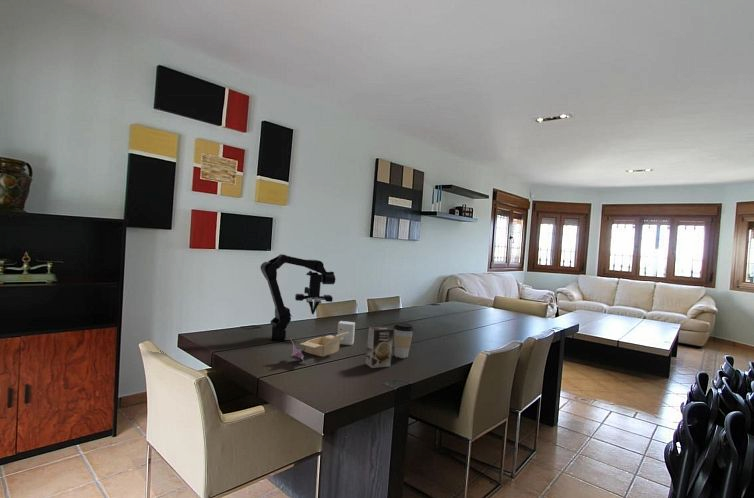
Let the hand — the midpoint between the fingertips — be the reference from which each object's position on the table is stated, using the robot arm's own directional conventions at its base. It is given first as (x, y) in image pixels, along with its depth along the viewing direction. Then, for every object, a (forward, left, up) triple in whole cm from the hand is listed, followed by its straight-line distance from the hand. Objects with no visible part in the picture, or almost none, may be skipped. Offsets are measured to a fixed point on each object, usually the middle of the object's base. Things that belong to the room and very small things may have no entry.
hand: (312, 314), depth 206 cm
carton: (+2, -25, -12) cm, 28 cm away
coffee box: (+23, -45, -12) cm, 52 cm away
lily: (-11, -41, -12) cm, 44 cm away
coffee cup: (+38, -33, -12) cm, 52 cm away
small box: (+16, -11, -12) cm, 23 cm away
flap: (+7, -30, -4) cm, 32 cm away
